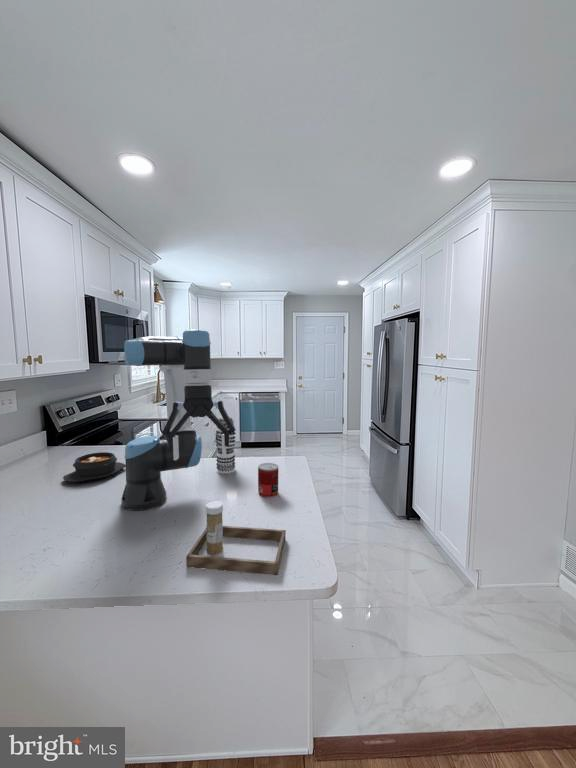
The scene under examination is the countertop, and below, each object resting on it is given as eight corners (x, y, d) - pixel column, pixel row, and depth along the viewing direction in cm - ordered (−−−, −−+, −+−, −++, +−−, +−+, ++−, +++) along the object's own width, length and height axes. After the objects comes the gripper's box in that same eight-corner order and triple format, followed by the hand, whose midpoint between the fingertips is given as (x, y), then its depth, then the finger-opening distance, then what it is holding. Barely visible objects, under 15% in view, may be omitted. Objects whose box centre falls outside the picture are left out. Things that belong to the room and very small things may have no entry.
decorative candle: (237, 472, 151) (237, 418, 149) (217, 474, 148) (216, 420, 145) (233, 466, 160) (233, 415, 157) (214, 468, 156) (213, 416, 154)
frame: (186, 567, 84) (186, 556, 84) (208, 534, 100) (208, 524, 99) (277, 575, 82) (277, 563, 81) (285, 539, 97) (285, 530, 97)
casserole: (77, 490, 131) (75, 469, 130) (54, 480, 141) (53, 461, 140) (134, 471, 152) (134, 453, 151) (111, 463, 162) (111, 447, 161)
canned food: (275, 498, 125) (275, 470, 123) (255, 496, 126) (255, 468, 125) (280, 490, 132) (280, 463, 131) (261, 488, 134) (261, 462, 133)
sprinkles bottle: (203, 551, 91) (202, 504, 90) (216, 543, 95) (215, 499, 93) (213, 557, 88) (212, 509, 87) (226, 550, 92) (226, 503, 90)
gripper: (148, 386, 90) (151, 463, 90) (240, 383, 91) (242, 459, 92) (157, 385, 97) (160, 456, 98) (242, 383, 99) (244, 453, 99)
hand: (200, 458), depth 95 cm, fingers open, 13 cm apart
